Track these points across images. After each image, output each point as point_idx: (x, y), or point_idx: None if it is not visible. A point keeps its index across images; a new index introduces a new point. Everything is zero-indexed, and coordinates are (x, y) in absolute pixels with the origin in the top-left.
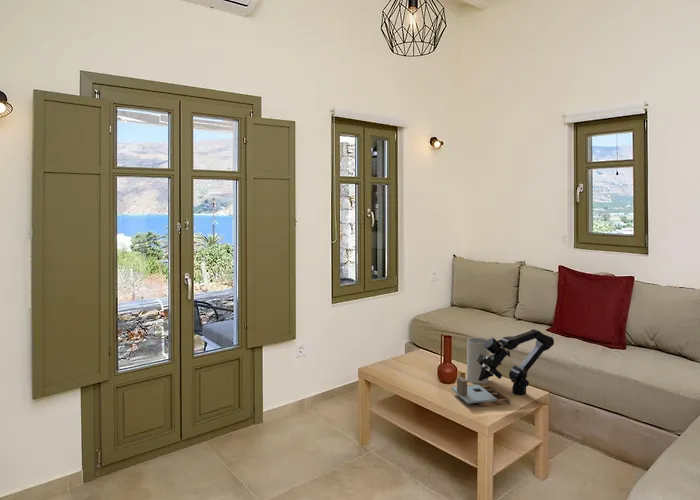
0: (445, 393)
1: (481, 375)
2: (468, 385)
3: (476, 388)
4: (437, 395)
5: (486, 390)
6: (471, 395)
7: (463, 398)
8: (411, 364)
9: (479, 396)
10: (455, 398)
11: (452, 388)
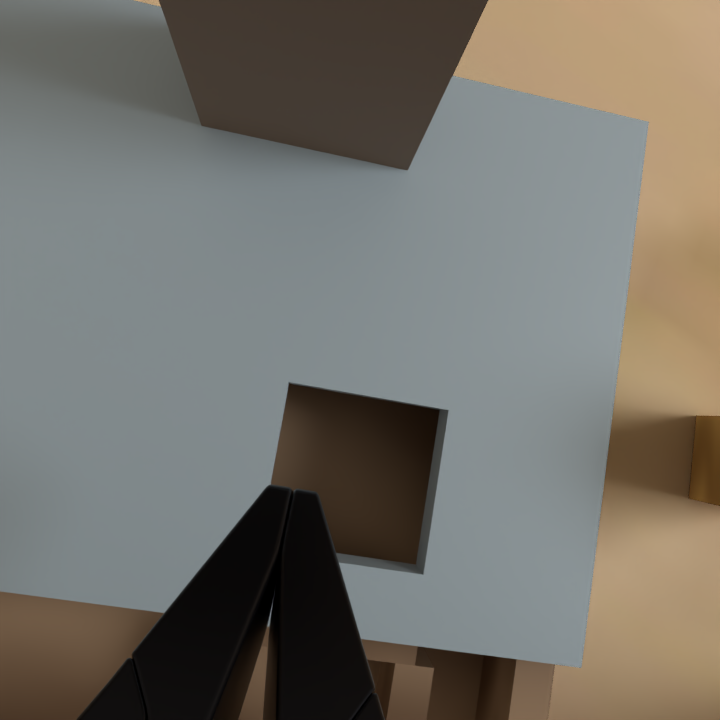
0: (650, 149)
1: (227, 634)
2: (606, 452)
3: (433, 509)
4: (628, 15)
5: (387, 699)
6: (173, 202)
7: (138, 6)
8: None
9: (65, 309)
10: None
11: (591, 111)
